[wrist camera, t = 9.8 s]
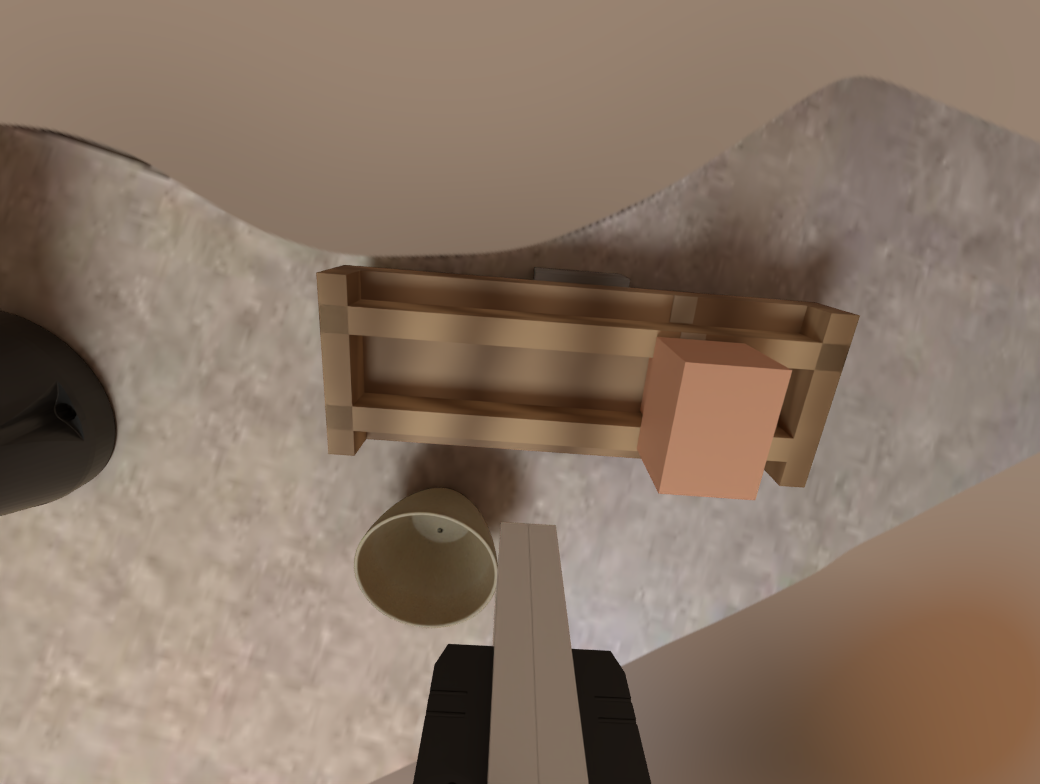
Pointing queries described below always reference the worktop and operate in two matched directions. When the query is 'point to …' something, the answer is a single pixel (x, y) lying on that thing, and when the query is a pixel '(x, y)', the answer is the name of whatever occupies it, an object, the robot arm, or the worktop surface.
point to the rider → (709, 417)
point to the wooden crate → (548, 359)
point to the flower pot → (428, 560)
